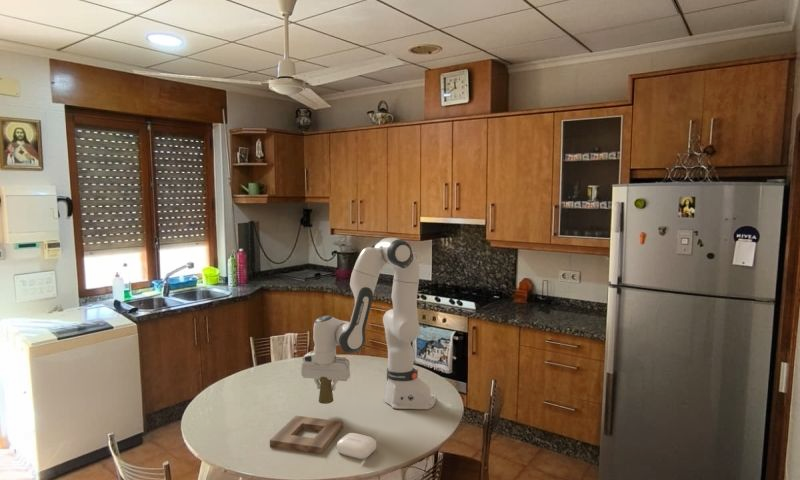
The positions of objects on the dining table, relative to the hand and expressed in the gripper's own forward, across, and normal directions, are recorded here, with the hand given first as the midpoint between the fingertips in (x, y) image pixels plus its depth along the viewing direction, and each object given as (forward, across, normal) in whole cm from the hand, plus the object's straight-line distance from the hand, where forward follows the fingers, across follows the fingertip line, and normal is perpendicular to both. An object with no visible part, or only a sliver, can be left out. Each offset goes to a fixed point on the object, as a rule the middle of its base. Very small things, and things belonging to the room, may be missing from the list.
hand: (326, 389), depth 193 cm
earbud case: (+12, -21, +23) cm, 34 cm away
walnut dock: (+11, 0, +19) cm, 22 cm away
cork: (+5, 0, 0) cm, 5 cm away
